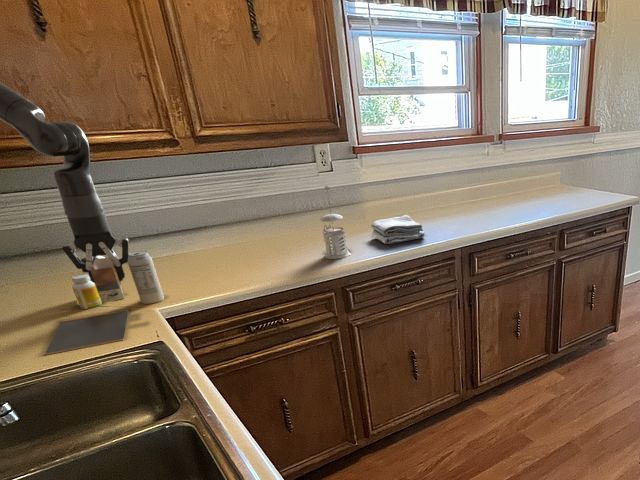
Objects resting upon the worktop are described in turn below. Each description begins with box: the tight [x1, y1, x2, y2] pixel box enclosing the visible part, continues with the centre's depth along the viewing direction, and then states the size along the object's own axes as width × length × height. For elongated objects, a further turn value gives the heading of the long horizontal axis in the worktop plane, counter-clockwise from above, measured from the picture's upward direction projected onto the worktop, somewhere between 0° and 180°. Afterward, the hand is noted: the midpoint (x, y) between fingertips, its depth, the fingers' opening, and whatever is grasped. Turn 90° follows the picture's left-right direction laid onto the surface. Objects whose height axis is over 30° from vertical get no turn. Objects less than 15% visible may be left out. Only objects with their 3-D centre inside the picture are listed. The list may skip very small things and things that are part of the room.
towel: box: [370, 214, 425, 245], centre depth 213 cm, size 15×18×8 cm
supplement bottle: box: [71, 273, 103, 310], centre depth 148 cm, size 5×5×10 cm
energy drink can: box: [126, 250, 165, 305], centre depth 150 cm, size 6×6×15 cm
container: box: [80, 255, 126, 303], centre depth 154 cm, size 8×8×13 cm
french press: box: [320, 185, 351, 260], centre depth 188 cm, size 10×12×25 cm
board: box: [43, 309, 129, 357], centre depth 134 cm, size 16×24×1 cm, turn 29°
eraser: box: [90, 257, 122, 292], centre depth 131 cm, size 4×11×6 cm, turn 29°
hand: (109, 281), depth 132 cm, fingers closed on eraser, 4 cm apart
